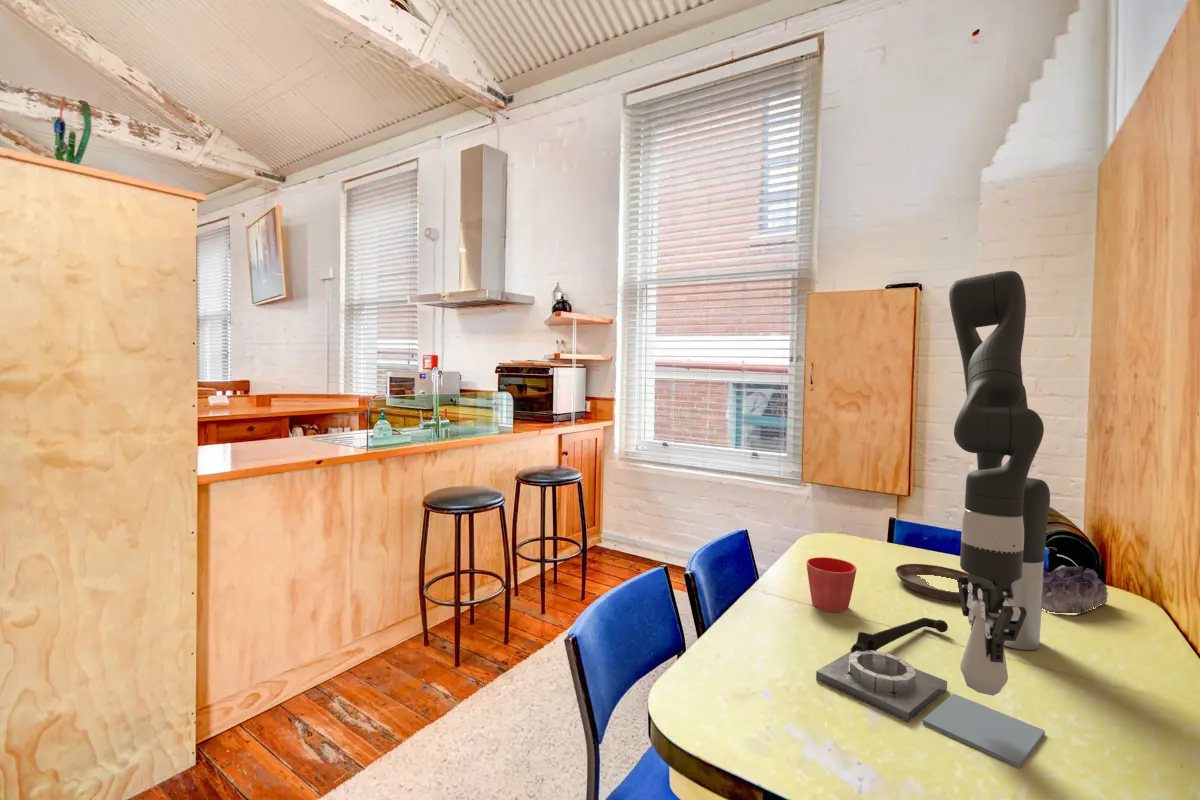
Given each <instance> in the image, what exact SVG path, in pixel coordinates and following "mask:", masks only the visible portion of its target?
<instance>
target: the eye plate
mask: <svg viewBox="0 0 1200 800" xmlns="http://www.w3.org/2000/svg"><path fill="white" fill-rule="evenodd" d="M815 680H816V681H818V682H820V683H822V684H825V685H827V686H829V687H831V688H834V689H836V690H837V691H840V692H842V693H845V695H848V696H851V697H853V698H854V699H856V700H859V701H861V702H864V703H865V704H868V705H870V706H872V707H874V708H877V709H878V710H880V711H883V712H884V713H887V714H889V715H891V716H894V717H896V718H897V719H899V720H902V721H904V722H906V723H909V722H911V721H912V720H913V719H914V718H916V717H917V716H918V715H919V714H920V713H921V712H923V711H924V710H925V709H926V708H927V707H928V706H930V705H931V704H932V703H933V702H934V701H936V700H937V699H938V698H939V697H940V696H942V695H943V694H944V693H945V692H947V690H948V680H946V679H943V678H940V677H937V676H935V675H933V674H930V673H928V672H925V671H922V670H920V669H917V668H915V667H914V666H913V665H912V664H910V663H909V662H907V661H906V660H905V659H903V658H901V657H898V656H895V655H893V654H891V653H888V652H884V651H878V650H876V651H873V650H866V651H864V652H859V651H855V652H854V653H852V652H851V650H850V651H849V652H847V653H845V654H843V655H842V656H840V657H838V658H836V659H834V660H833V661H831V662H829V663H828V664H826V665H824V666H822V667H821V668H819V669H817V670H816V672H815Z"/></svg>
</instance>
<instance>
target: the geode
mask: <svg viewBox="0 0 1200 800" xmlns="http://www.w3.org/2000/svg"><path fill="white" fill-rule="evenodd" d="M1084 569H1085V570H1084ZM1108 595H1109V593H1108V588H1107V585H1106V584H1105V583H1104V582H1103V581H1102V580H1101V579H1100V578H1099V577H1098V573H1097V572H1096V570H1095V569H1091V568H1089V567H1086V568H1084V566H1082V565H1081V566H1067V565H1065V564H1064V565H1063V564H1062V565H1060V566H1058V567H1056V568H1055V569H1054V570H1052V571H1049V572H1047V570H1045V569H1043V589H1042V608H1043V609H1045V610H1047V611H1049V612H1055V613H1078V614H1079V613H1082V612H1085V611H1087V610H1089V609H1090V610H1091V609H1092V610H1094V609H1093V607H1094V608H1095V607H1097V606H1099V605H1100V604H1103V605H1105V604H1104V603H1106V602H1107V603H1108ZM1107 603H1106V604H1107ZM1092 610H1091V611H1092ZM1087 612H1088V611H1087ZM1085 613H1086V612H1085ZM1082 614H1083V613H1082Z"/></svg>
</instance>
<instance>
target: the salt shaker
mask: <svg viewBox="0 0 1200 800" xmlns="http://www.w3.org/2000/svg"><path fill="white" fill-rule="evenodd" d="M971 612H972V614H973V615H974V616H976V617H975V620H974V624H973V627H972V630H971V629H970V633H969V638H968V639H967V643H966V646H965V650H964V653H963V655H962V658H961V660H960V661H961V662H960V663H959V664H960V665H959V667H960V668H959V669H960V671H961V673H962V675H963V678H964V681H965V684H966V687H968V688H970V689H972V690H973V691H975V692H976V693H978V694H983V695H988V696H992V697H993V696H995V695H997V694H999V693H1000V692H1001V691H1002V690H1003V688H1004V686H1005V685H1006V684H1007V683H1008V680H1009V674H1008V667H1007V660H1006V652H1005V650H1004V651H1003V663H1001V662H991V661H990V654H989V655H988V657H987V656H986V641H985V637H986V635H985V622H984V621H983V620H982V619H981V609H980V600H978V599H975V600H974V601H972V604H971ZM989 615H990V616H991V617H999V615H1000V614H996V613H990V612H989ZM995 625H996V623H993V630H994V628H995ZM996 656H997V655H996Z"/></svg>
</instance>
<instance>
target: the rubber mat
mask: <svg viewBox="0 0 1200 800" xmlns="http://www.w3.org/2000/svg"><path fill="white" fill-rule="evenodd" d="M922 724H923V725H924V726H927V727H928V728H932V729H934V730H935V731H938V732H939V733H942V734H944V735H947V736H948V737H951V738H953V739H955V740H957V741H959V742H962V743H964V744H966V745H968V746H970V747H972V748H975V749H976V750H979V751H981V752H983V753H985V754H988V755H989V756H992V757H994V758H995V759H998V760H999V761H1003V762H1005V763H1006V764H1009V765H1011V766H1013V767H1015V768H1018V769H1020V768H1021V767H1022V766H1023V764H1024V763H1025V762H1026V761H1027V760H1028V757H1030V755H1031V754H1032V753H1033V751H1034V750H1035V749H1036V747H1037V746H1038V745H1039V743H1040V741H1041V740H1042V739H1043V737H1044V736H1045V735H1046V730H1045V729H1043V728H1040V727H1037V726H1035V725H1033V724H1030V723H1028V722H1025V721H1022V720H1020V719H1018V718H1015V717H1013V716H1010V715H1008V714H1006V713H1003V712H1000V711H998V710H996V709H993V708H990V707H988V706H986V705H984V704H981V703H979V702H975V701H974V700H971V699H968V698H965V697H963V696H960V695H958V694H956V693H953V694H951V695H950V696H949V697H948V698H947V699H945V700H944V701H943V702H942V703H941V704H940V705H938V706H937V708H935V709H934V710H932V712H930V713H929V714H928V715H927V716H926V717H924V719H922Z"/></svg>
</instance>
